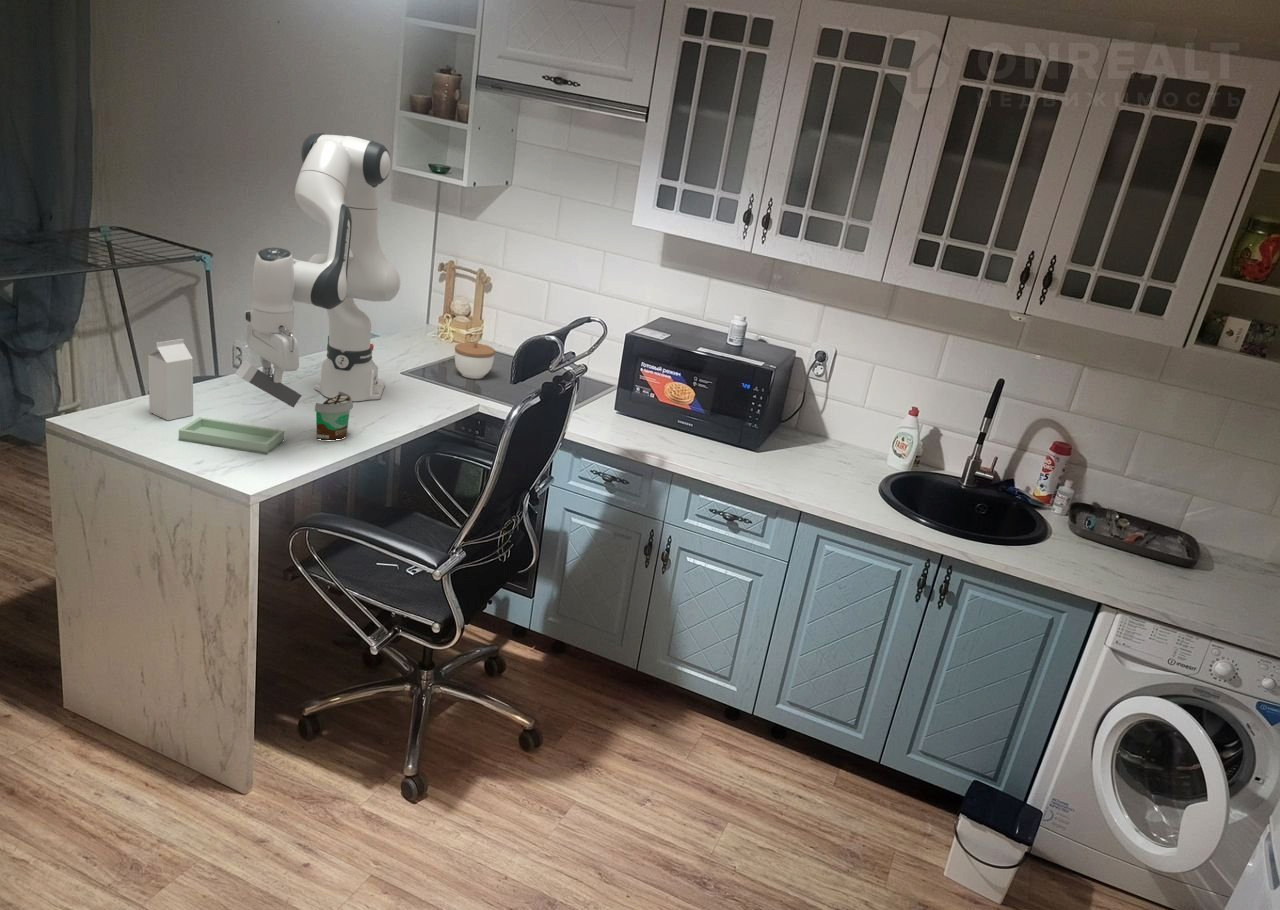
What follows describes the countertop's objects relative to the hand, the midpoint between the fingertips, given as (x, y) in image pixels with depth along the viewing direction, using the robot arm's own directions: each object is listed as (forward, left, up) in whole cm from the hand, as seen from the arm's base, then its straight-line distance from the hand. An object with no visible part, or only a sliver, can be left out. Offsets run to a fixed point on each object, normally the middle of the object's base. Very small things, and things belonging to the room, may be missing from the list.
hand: (272, 378), depth 223 cm
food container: (-13, +12, -17) cm, 24 cm away
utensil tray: (0, -9, -17) cm, 19 cm away
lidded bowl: (-83, +31, -17) cm, 90 cm away
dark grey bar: (+1, -1, -3) cm, 3 cm away
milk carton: (-10, -29, -17) cm, 35 cm away
